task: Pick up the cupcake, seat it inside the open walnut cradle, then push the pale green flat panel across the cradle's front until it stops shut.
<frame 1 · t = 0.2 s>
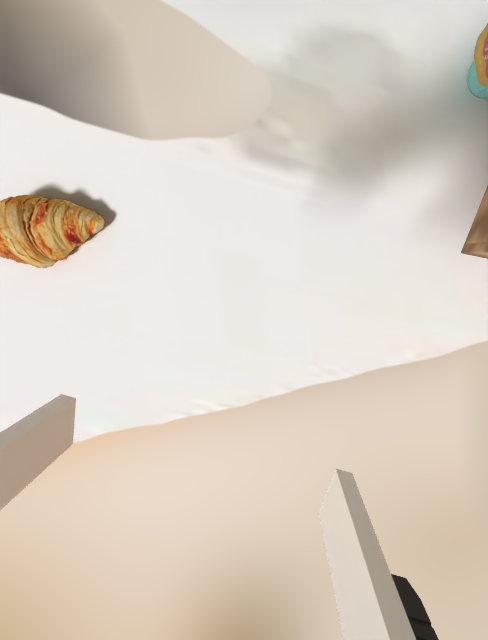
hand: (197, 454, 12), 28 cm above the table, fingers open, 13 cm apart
cupcake: (486, 76, 30), on the table
croissant: (51, 235, 40), on the table
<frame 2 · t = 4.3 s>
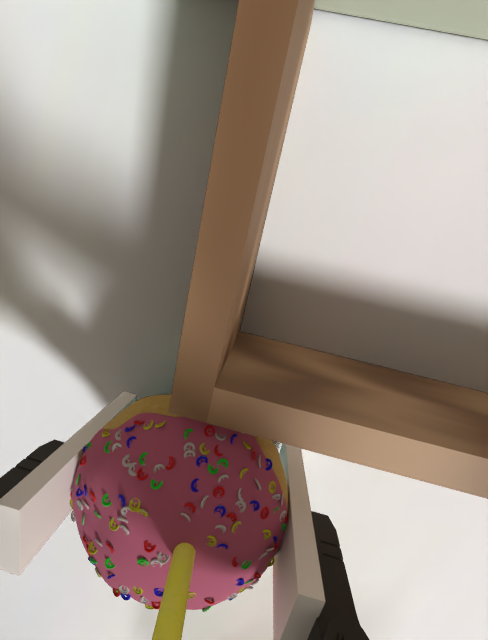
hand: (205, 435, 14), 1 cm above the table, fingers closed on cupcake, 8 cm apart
holder: (465, 253, 11), on the table
cupcake: (209, 423, 15), on the table, touching gripper
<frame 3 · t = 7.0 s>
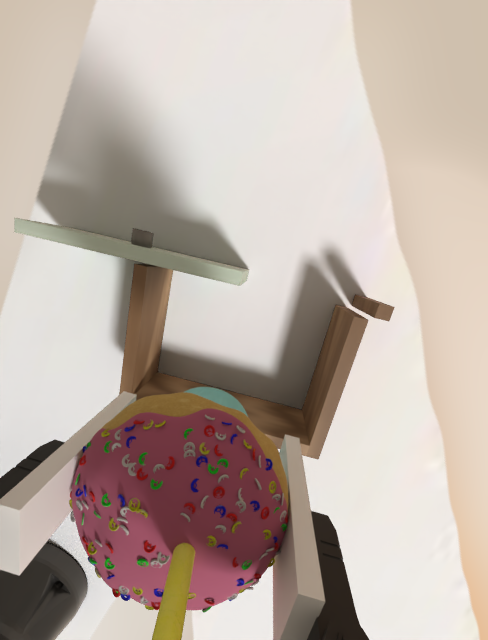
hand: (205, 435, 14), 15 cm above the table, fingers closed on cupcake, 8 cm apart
holder: (239, 344, 29), on the table
cupcake: (209, 423, 15), point 14 cm above the table, touching gripper
pale green flat panel: (143, 245, 24), point 3 cm above the table, slide at 11.0 cm
when the fingers open (3 cm above the table, at t = 9.6 s): cupcake drops 2 cm, on the table.
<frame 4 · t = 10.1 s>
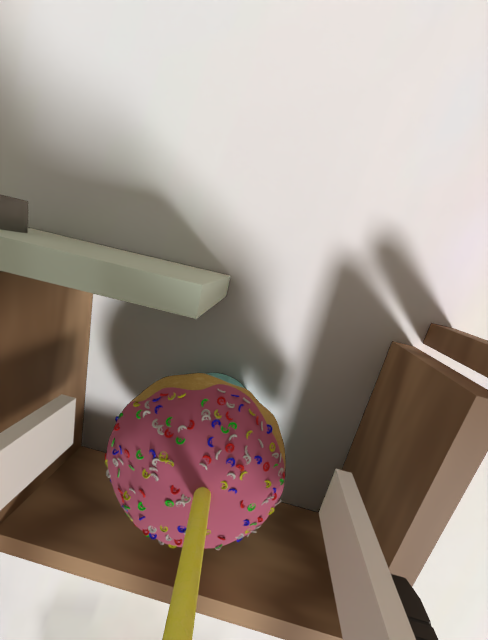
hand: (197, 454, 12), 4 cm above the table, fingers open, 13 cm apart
holder: (216, 406, 16), on the table
cupcake: (217, 406, 17), on the table
pale green flat panel: (10, 226, 12), point 3 cm above the table, slide at 11.0 cm
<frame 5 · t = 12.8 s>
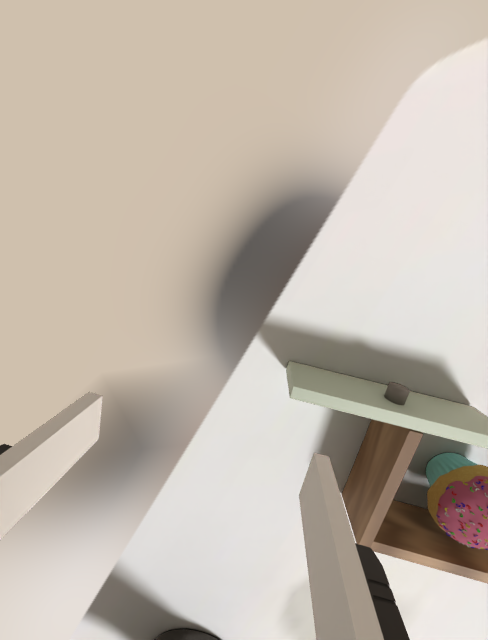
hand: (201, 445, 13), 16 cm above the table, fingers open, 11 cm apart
holder: (447, 470, 29), on the table
cupcake: (445, 469, 30), on the table
pale green flat panel: (392, 396, 25), point 3 cm above the table, slide at 11.0 cm
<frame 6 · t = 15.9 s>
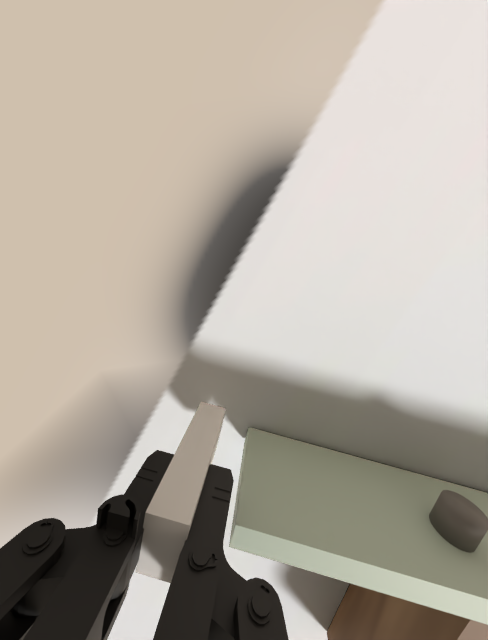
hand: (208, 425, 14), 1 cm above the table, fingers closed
pale green flat panel: (446, 520, 12), point 3 cm above the table, slide at 9.9 cm, touching gripper
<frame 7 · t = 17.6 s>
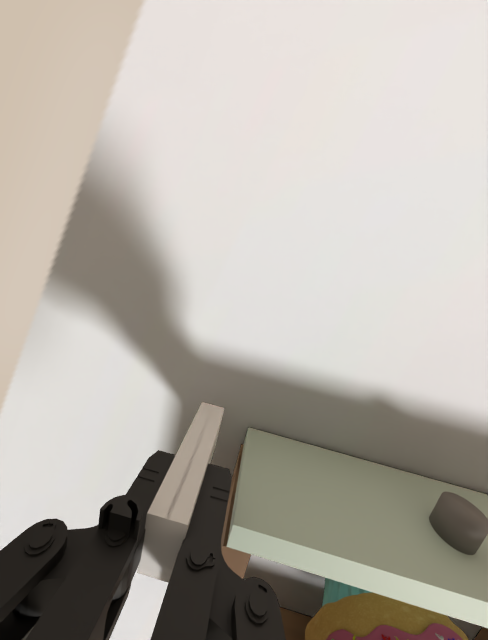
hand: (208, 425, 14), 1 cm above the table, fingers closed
holder: (361, 568, 17), on the table
cupcake: (360, 565, 17), on the table
pale green flat panel: (446, 522, 12), point 3 cm above the table, slide at -0.1 cm, touching gripper
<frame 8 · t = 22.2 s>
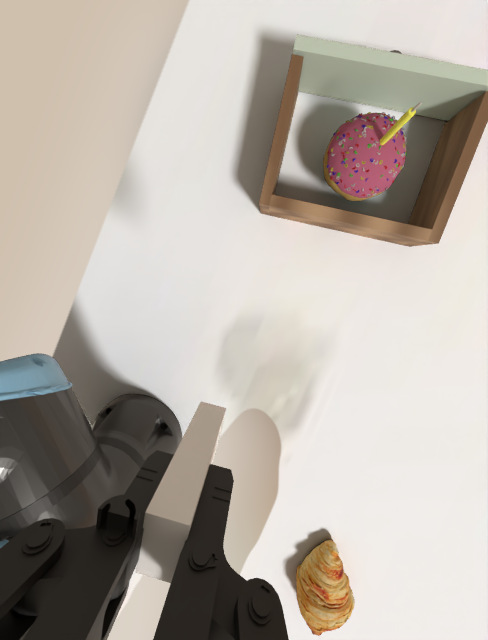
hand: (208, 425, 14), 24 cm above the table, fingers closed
holder: (351, 172, 32), on the table
cupcake: (351, 173, 32), on the table
croissant: (321, 573, 48), on the table
pale green flat panel: (386, 75, 27), point 3 cm above the table, slide at 0.0 cm
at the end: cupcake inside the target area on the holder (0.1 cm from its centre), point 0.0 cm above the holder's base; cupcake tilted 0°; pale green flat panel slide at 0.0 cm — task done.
